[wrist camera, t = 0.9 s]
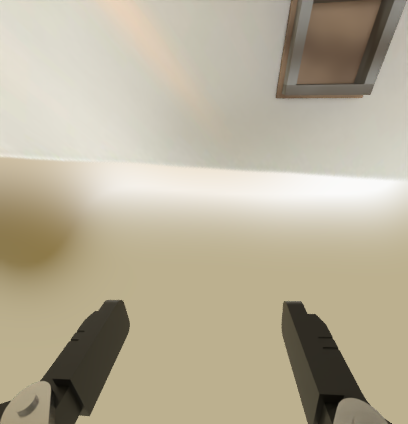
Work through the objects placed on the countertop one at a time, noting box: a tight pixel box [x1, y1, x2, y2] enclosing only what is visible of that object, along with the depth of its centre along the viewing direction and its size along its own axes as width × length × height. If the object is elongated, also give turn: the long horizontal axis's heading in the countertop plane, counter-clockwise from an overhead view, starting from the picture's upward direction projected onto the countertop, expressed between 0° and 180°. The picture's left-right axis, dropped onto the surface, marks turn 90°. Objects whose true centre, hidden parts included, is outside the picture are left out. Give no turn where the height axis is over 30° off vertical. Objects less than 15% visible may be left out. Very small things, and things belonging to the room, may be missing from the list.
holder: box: [276, 0, 407, 98], centre depth 22 cm, size 10×10×4 cm
